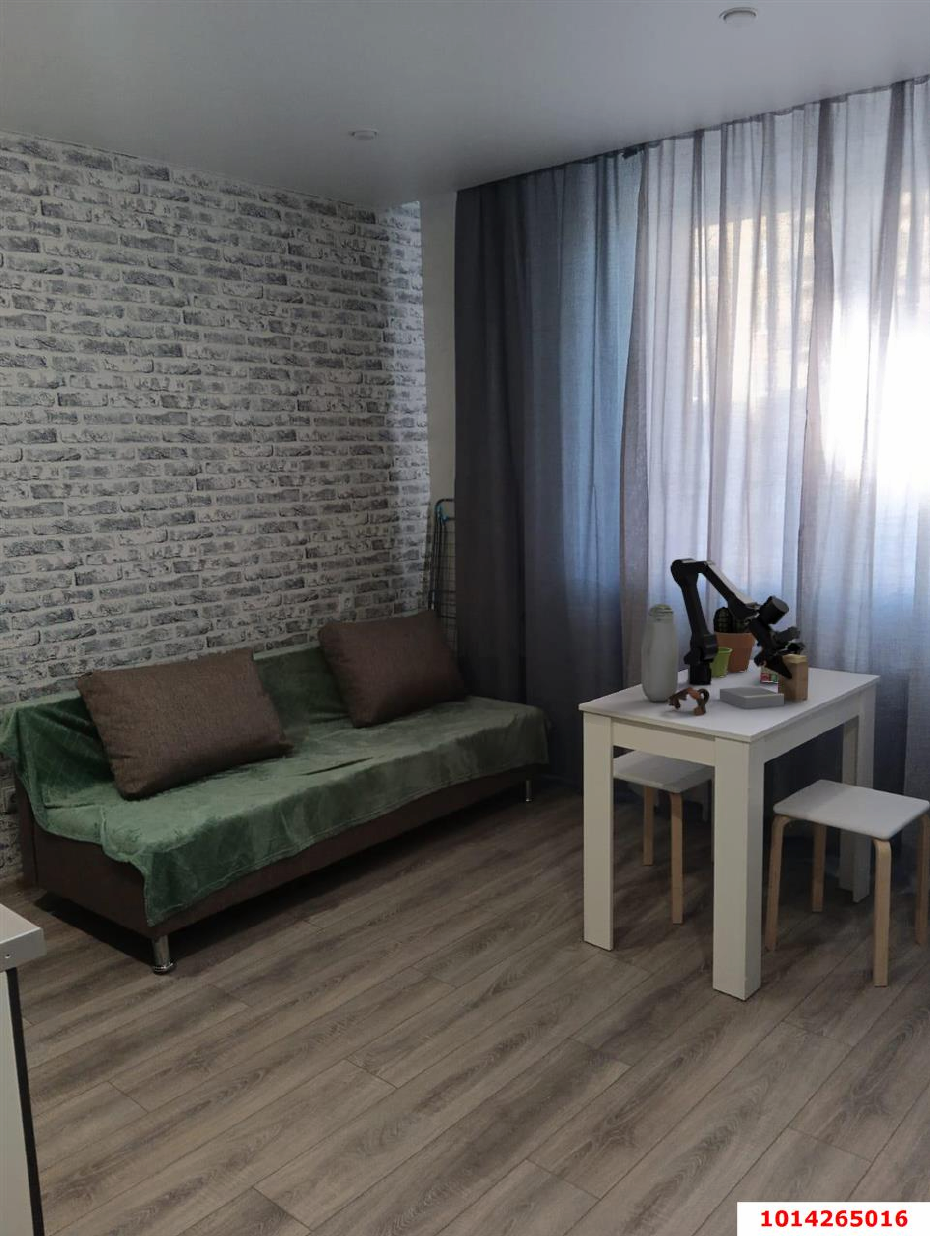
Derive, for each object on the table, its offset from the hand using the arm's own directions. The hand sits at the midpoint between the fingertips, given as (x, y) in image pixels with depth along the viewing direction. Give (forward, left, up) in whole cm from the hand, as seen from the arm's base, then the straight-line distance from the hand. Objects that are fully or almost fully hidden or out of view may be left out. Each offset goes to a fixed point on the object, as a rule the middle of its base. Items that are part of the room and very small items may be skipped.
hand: (797, 676), depth 299 cm
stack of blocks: (+4, +34, -7) cm, 35 cm away
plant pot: (-15, +38, -7) cm, 41 cm away
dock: (-14, -3, -7) cm, 16 cm away
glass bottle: (-39, +1, -7) cm, 40 cm away
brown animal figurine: (-33, -14, -7) cm, 36 cm away
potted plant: (-7, +47, -7) cm, 48 cm away
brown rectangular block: (-1, +1, -7) cm, 7 cm away
